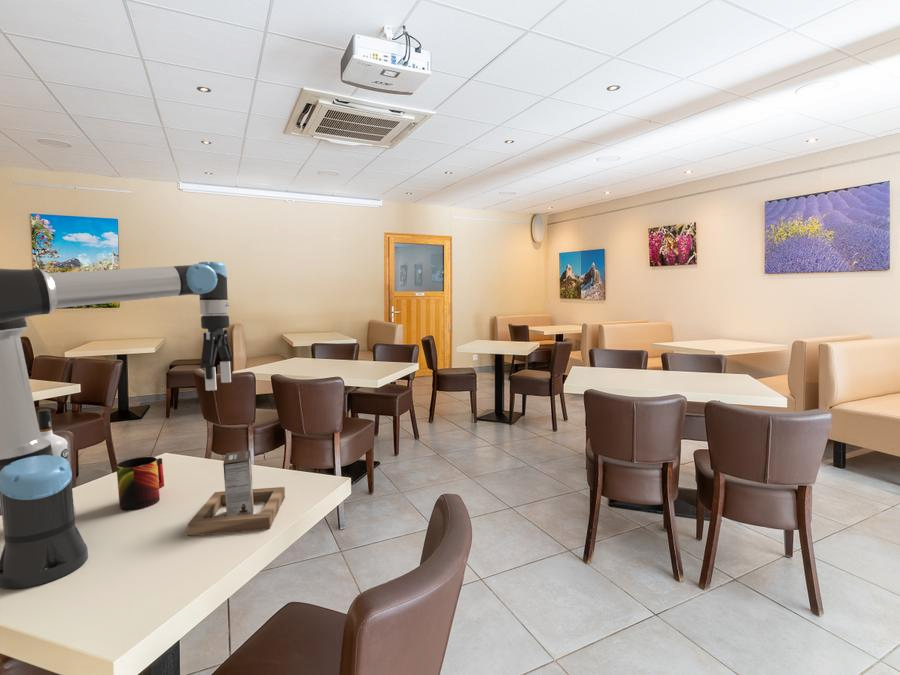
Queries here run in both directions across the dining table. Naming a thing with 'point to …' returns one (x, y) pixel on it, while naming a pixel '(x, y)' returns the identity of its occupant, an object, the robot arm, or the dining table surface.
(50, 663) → the dining table surface
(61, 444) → the vodka
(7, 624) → the dining table surface
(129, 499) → the mug
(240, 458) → the coffee box
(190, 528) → the block
